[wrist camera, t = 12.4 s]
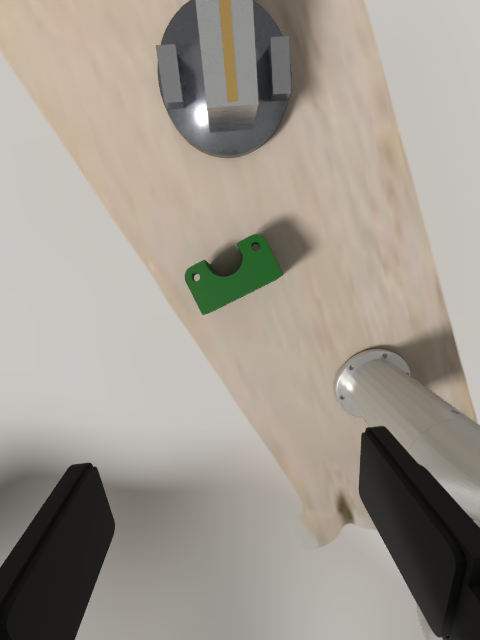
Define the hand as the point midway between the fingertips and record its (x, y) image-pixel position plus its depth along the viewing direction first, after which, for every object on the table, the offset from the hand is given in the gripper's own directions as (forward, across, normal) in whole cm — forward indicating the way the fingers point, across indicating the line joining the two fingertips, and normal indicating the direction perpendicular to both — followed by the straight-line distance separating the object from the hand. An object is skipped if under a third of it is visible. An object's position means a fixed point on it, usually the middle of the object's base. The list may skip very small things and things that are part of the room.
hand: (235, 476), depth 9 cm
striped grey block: (+29, -3, -25) cm, 38 cm away
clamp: (+31, -1, -4) cm, 31 cm away
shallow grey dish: (+30, -3, -26) cm, 40 cm away
